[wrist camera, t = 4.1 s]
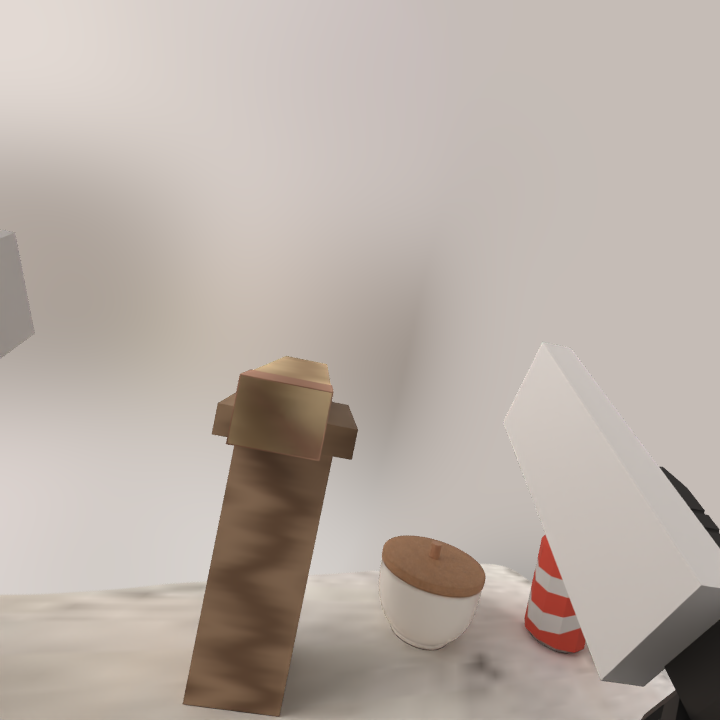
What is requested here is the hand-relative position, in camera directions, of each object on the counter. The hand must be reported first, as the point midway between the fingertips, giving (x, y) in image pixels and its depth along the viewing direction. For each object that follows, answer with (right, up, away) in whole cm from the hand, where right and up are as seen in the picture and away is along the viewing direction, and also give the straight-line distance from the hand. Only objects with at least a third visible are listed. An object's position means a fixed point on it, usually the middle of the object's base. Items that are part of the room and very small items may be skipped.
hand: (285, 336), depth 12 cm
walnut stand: (-8, -26, +23) cm, 36 cm away
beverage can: (+24, -32, +39) cm, 56 cm away
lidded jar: (+8, -29, +35) cm, 47 cm away
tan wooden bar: (-3, -4, +20) cm, 21 cm away
